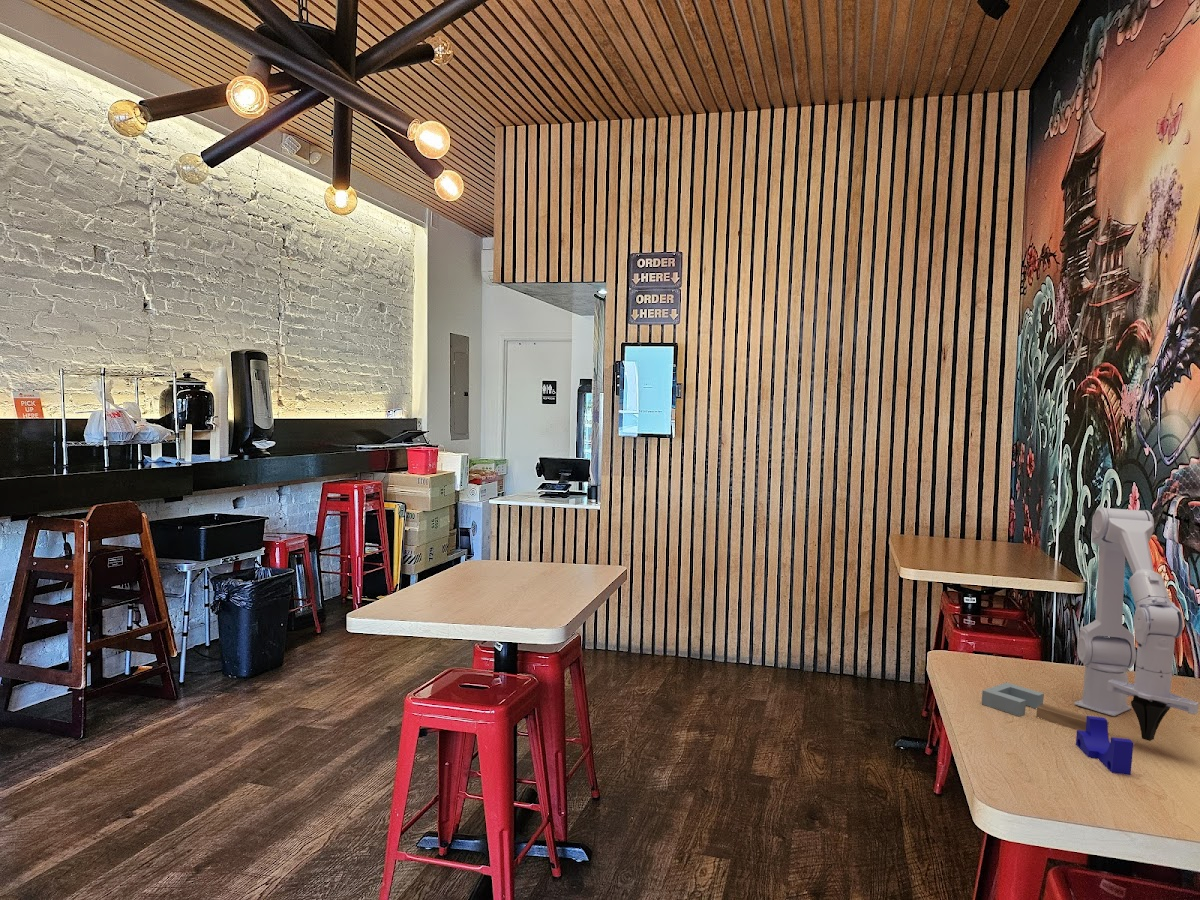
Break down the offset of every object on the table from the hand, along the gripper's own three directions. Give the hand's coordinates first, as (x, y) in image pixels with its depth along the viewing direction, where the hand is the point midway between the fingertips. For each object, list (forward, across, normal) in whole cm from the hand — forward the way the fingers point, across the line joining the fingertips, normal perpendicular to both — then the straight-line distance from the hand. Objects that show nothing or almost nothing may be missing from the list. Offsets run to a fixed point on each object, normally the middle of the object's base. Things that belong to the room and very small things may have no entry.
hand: (1147, 738), depth 154 cm
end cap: (+2, -26, 0) cm, 26 cm away
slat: (+2, -14, 0) cm, 14 cm away
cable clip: (+2, -3, -13) cm, 14 cm away
